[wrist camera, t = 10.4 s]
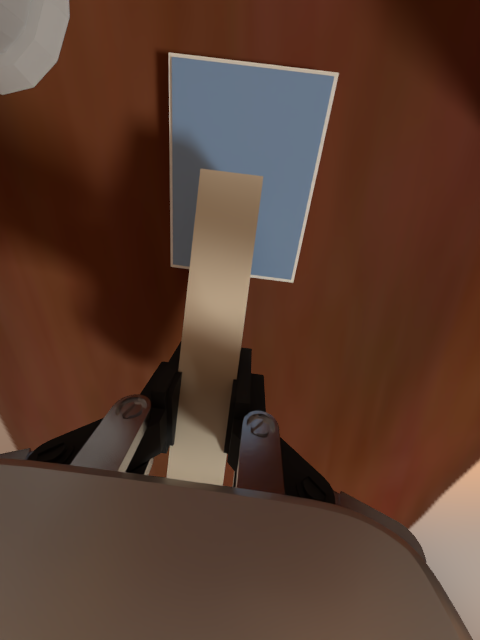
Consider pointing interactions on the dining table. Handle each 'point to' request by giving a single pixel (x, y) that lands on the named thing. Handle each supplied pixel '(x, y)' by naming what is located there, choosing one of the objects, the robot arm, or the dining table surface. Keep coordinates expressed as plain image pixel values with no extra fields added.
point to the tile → (247, 147)
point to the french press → (29, 40)
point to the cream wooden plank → (214, 321)
